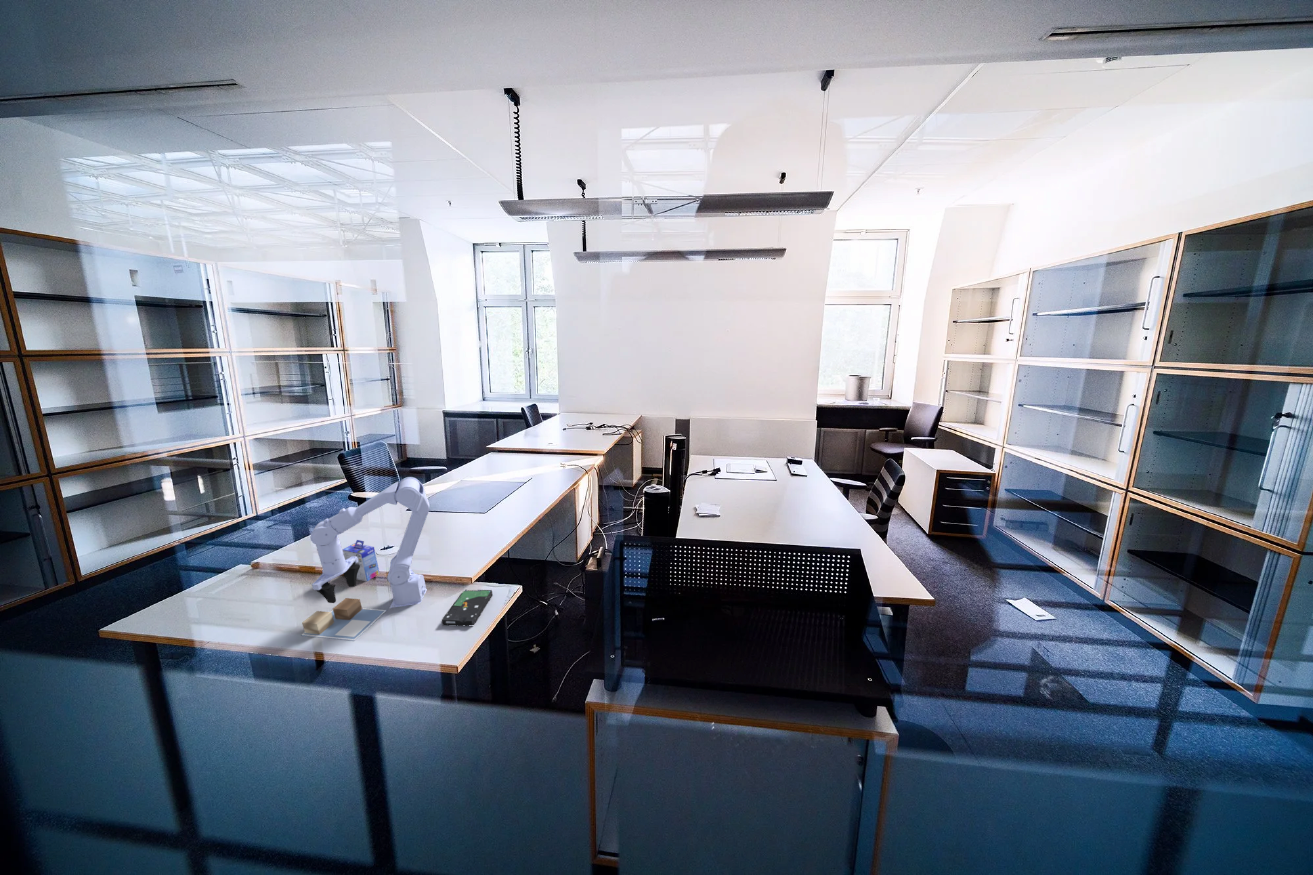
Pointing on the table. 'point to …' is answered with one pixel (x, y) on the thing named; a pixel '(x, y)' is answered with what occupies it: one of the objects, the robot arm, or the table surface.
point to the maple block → (318, 622)
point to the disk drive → (467, 607)
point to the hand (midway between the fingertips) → (342, 593)
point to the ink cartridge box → (363, 560)
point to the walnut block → (347, 609)
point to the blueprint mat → (350, 625)
